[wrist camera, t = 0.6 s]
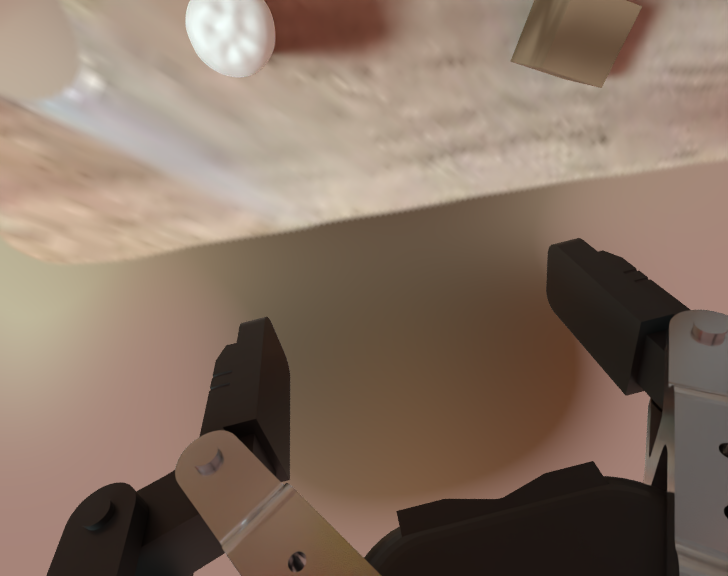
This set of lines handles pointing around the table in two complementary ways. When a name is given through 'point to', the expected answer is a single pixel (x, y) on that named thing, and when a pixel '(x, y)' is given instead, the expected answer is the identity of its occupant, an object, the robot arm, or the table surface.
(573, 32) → the walnut cube
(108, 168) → the table surface
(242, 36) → the milkshake
